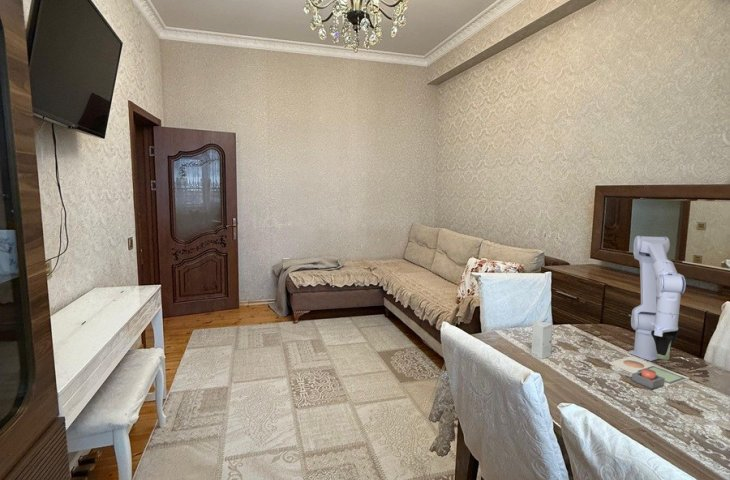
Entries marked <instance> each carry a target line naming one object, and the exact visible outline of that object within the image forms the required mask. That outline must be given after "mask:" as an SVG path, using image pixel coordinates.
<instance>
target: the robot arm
mask: <svg viewBox="0 0 730 480" xmlns="http://www.w3.org/2000/svg"><path fill="white" fill-rule="evenodd" d="M670 243H671V242H670V239H669V238H668V237H667V236H651V235H650V236H646V235H636V236H635V237H634V240H633V248H632V249H633V256H634V257H633V258H634V260H636V261H638V262H639V272H640V275H639V279H640V305H638V306H635V307H634V308H633V309H632V311H631V315H630V316H631V317H630V325H631V328H632V329H633V330H634V331H635V334H634V344H633V347H634V348H633V349H631V350H629V351H628V352H627V353H628V354H631V355H633V356H635V357H638V358H640V359H644V360H646V361H650V362H653V361H656V360H659V359H660V358H657V357H656V351H657V354H661V355H664V356H665V355H666V353H667V350H668V346H669V344H670V342H671V346H670V351H671V350H672V348H673V344H674V342H675V340H676V338H677V337H678V335H680V330H679V319H680V318H679V315H680V308H681V307H680V306H681V297H682V294H684V293H685V292H686V291H685V290H686V283H687V282H686V279H685V275H683V274H681V273H678V271H677V269H676V266H675V264H674V262H673V261H671V260H670V259H668V256H667V254H668V252H669V250H670V248H671V247H670V245H671V244H670ZM660 360H661V359H660Z"/></svg>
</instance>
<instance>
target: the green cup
mask: <svg viewBox="0 0 730 480" xmlns="http://www.w3.org/2000/svg"><path fill="white" fill-rule="evenodd" d="M670 346H671V342H670V344H669V346H668V350H667V353H666V355H665V356H664V355H661V354H657V351H656V357H657V358H660V360H663V361H664V360H665V361H668V360H670V354H671V350H670Z"/></svg>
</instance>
